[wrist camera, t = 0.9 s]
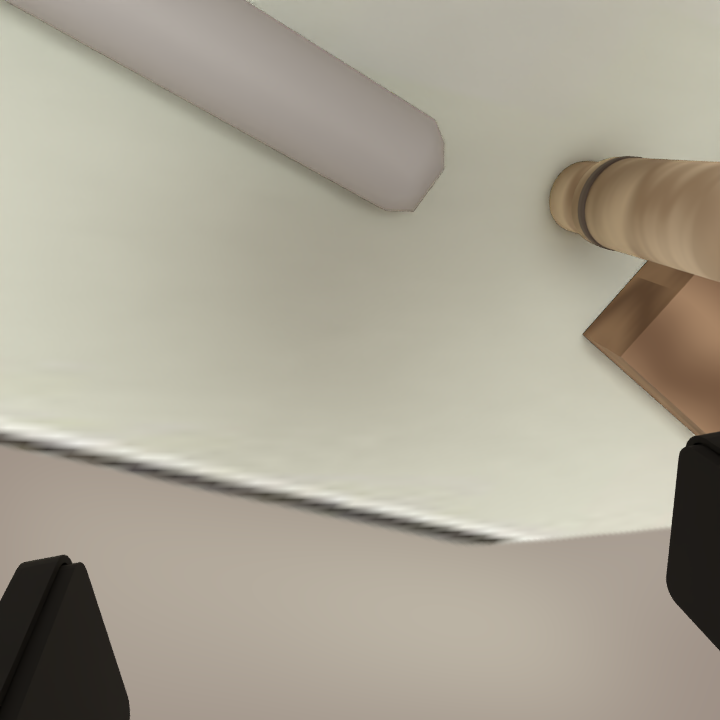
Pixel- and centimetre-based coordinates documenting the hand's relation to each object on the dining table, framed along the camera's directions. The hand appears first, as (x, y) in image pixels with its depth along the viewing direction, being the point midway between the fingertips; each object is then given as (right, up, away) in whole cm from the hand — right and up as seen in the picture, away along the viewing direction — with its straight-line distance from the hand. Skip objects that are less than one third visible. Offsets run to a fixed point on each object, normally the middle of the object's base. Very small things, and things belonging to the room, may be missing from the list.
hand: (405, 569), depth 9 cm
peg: (+12, +12, +24) cm, 30 cm away
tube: (-8, +18, +19) cm, 27 cm away
